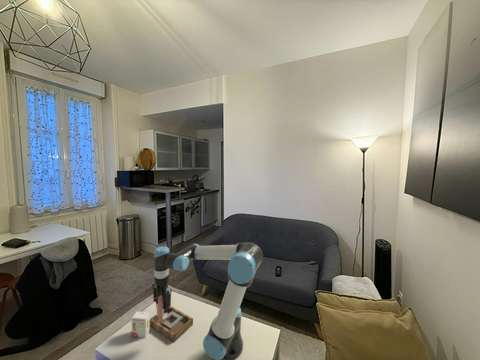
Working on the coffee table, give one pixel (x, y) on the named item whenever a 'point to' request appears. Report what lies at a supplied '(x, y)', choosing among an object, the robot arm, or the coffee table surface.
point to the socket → (175, 324)
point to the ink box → (140, 324)
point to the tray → (166, 332)
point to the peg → (160, 310)
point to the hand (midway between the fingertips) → (161, 315)
